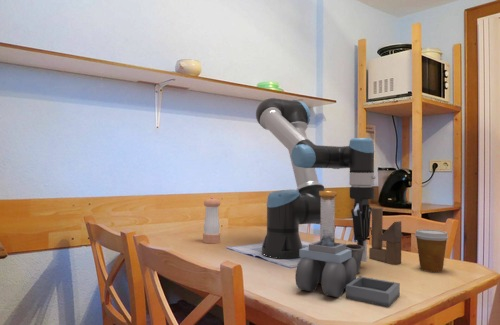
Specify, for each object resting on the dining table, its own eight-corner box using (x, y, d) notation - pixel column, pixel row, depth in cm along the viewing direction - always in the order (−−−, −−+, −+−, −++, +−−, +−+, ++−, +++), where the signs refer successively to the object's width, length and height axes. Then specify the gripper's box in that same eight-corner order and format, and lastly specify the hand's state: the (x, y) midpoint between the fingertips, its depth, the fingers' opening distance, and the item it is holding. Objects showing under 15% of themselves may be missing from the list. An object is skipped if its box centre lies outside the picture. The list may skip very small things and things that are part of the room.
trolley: (291, 292, 93) (292, 246, 93) (318, 277, 106) (319, 237, 106) (333, 301, 87) (333, 251, 87) (356, 284, 100) (356, 241, 100)
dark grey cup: (332, 277, 107) (333, 249, 107) (348, 268, 117) (348, 242, 118) (353, 281, 103) (353, 252, 104) (367, 271, 114) (367, 245, 114)
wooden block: (394, 265, 122) (394, 210, 123) (368, 258, 131) (369, 207, 132) (401, 263, 124) (401, 209, 125) (375, 257, 133) (376, 206, 134)
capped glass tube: (315, 250, 96) (316, 191, 96) (322, 247, 100) (323, 190, 100) (332, 252, 93) (332, 191, 94) (338, 249, 97) (339, 191, 97)
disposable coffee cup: (450, 269, 118) (450, 231, 118) (446, 275, 110) (446, 235, 110) (417, 264, 123) (417, 228, 124) (411, 270, 115) (412, 231, 116)
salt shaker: (199, 241, 159) (200, 196, 159) (213, 239, 164) (213, 196, 164) (209, 244, 153) (210, 197, 154) (223, 242, 158) (224, 197, 159)
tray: (345, 298, 89) (345, 285, 89) (359, 287, 97) (359, 276, 97) (388, 307, 83) (388, 293, 84) (399, 295, 92) (399, 283, 92)
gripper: (367, 187, 111) (367, 266, 111) (379, 186, 122) (380, 258, 121) (342, 186, 116) (343, 263, 115) (357, 185, 126) (357, 255, 126)
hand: (362, 260), depth 118 cm, fingers closed
